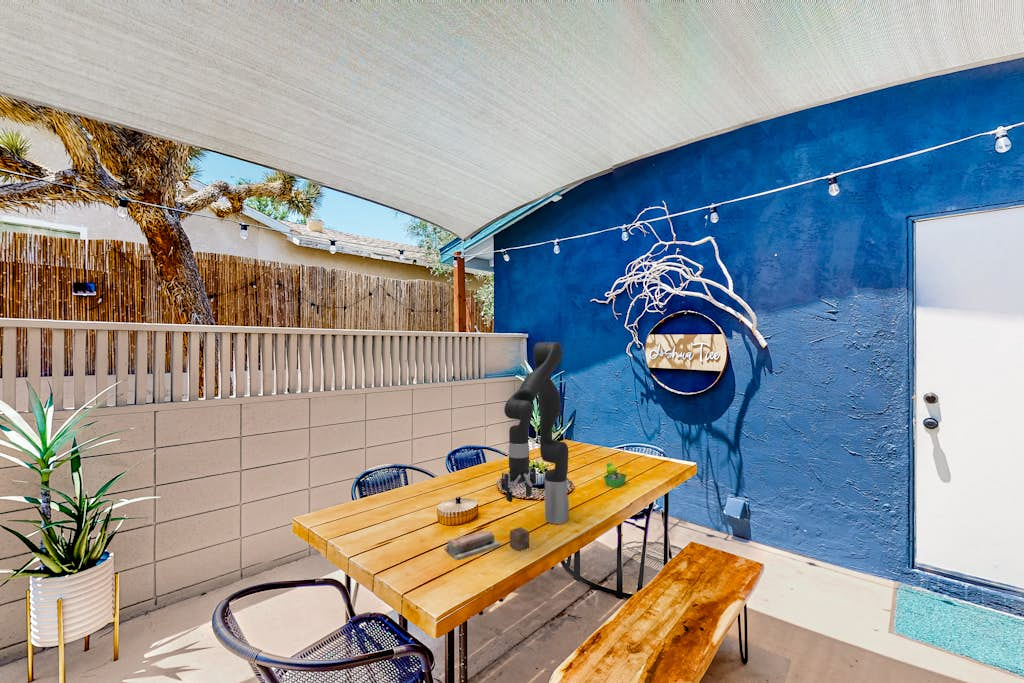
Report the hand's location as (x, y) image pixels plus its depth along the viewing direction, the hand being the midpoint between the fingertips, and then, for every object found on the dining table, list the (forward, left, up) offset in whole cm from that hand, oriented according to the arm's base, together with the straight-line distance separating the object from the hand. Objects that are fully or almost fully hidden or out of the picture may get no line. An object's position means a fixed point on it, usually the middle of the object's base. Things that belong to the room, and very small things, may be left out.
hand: (519, 498), depth 157 cm
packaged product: (+14, -10, -18) cm, 25 cm away
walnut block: (0, 0, -18) cm, 18 cm away
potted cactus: (-82, -25, -18) cm, 88 cm away
